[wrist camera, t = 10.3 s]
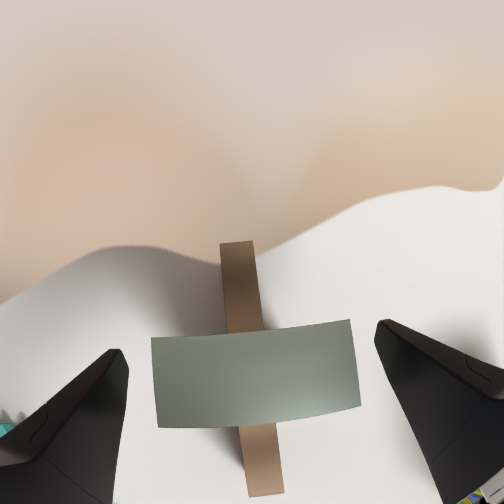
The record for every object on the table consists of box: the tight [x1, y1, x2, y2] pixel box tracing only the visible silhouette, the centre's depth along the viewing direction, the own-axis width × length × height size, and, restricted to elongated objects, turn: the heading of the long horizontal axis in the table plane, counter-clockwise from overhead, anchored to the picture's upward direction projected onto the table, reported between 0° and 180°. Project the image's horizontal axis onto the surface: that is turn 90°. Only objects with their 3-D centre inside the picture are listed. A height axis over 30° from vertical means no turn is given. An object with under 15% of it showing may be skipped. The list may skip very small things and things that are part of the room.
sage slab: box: [151, 319, 361, 428], centre depth 14 cm, size 3×6×13 cm, turn 96°
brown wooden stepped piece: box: [220, 241, 284, 497], centre depth 18 cm, size 17×2×5 cm, turn 7°
